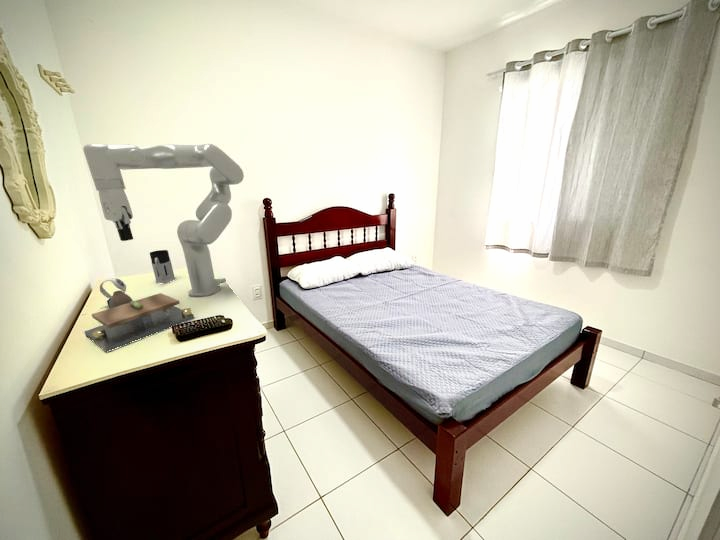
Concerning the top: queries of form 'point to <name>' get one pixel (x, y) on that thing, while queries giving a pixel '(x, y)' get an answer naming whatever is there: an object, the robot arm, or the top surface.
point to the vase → (119, 299)
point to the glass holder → (162, 266)
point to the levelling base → (138, 327)
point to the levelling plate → (134, 310)
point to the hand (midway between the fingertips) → (127, 239)
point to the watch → (117, 283)
